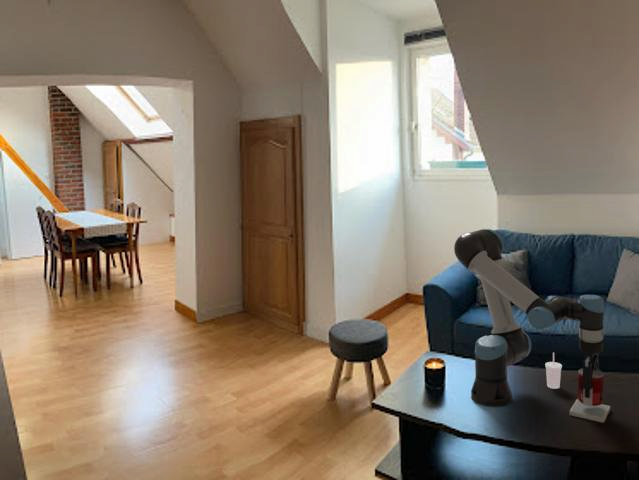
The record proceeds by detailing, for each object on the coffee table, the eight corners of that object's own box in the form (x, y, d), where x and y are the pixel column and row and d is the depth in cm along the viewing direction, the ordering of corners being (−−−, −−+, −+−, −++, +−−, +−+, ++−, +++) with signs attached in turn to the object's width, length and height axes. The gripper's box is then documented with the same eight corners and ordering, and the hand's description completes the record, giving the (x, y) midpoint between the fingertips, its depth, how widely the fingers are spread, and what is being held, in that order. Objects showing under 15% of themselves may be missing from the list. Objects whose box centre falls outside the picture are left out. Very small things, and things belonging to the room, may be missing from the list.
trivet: (569, 415, 193) (569, 410, 193) (576, 402, 201) (576, 398, 201) (603, 422, 186) (603, 418, 186) (610, 409, 195) (610, 405, 194)
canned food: (605, 406, 189) (606, 376, 187) (581, 405, 190) (581, 376, 189) (599, 397, 196) (599, 368, 194) (575, 396, 198) (575, 367, 196)
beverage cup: (542, 383, 220) (543, 350, 217) (558, 382, 219) (558, 349, 217) (547, 389, 214) (548, 355, 211) (564, 389, 213) (564, 355, 211)
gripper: (596, 350, 179) (595, 415, 183) (608, 332, 195) (607, 392, 199) (572, 346, 184) (571, 409, 187) (586, 329, 200) (585, 387, 203)
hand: (590, 400), depth 193 cm, fingers closed on canned food, 8 cm apart
